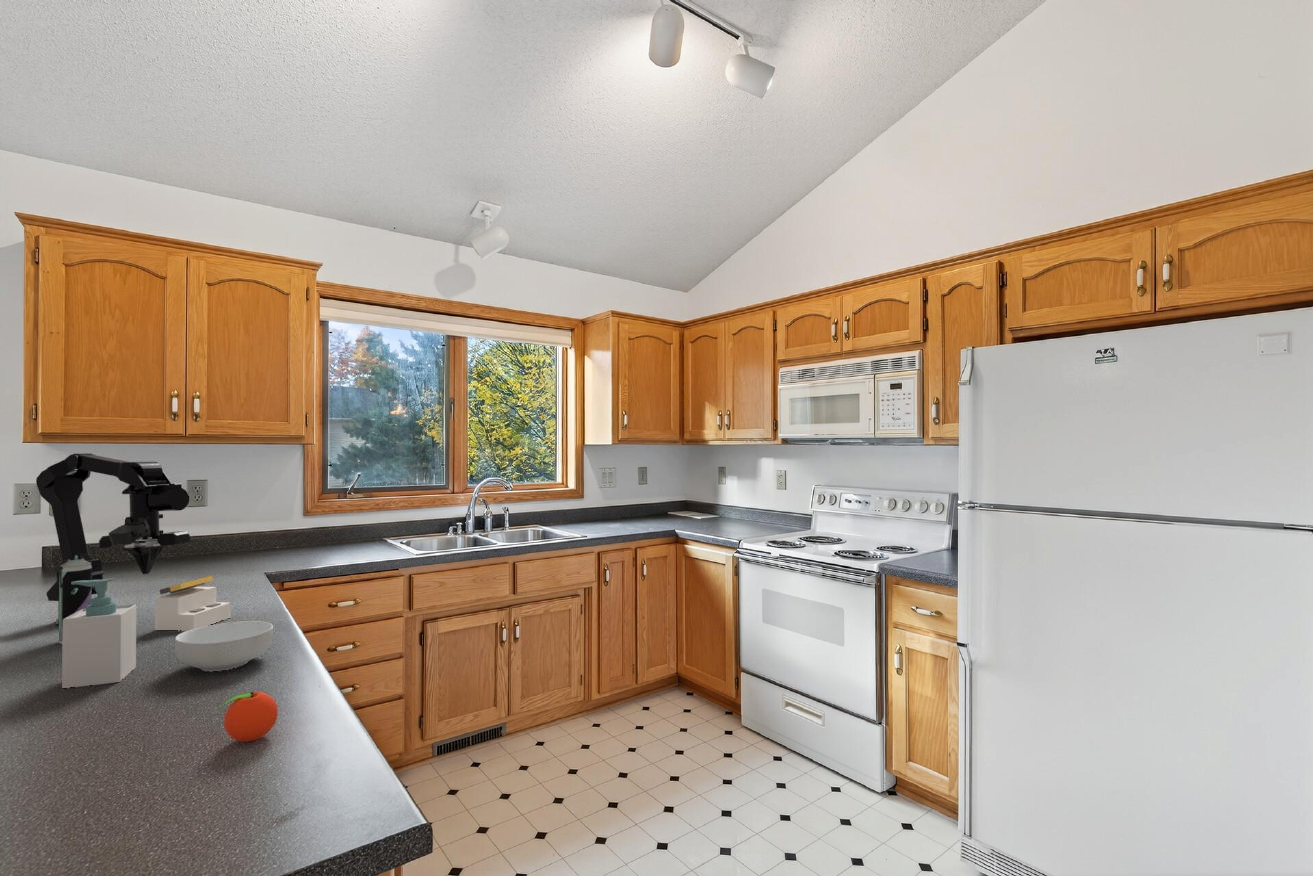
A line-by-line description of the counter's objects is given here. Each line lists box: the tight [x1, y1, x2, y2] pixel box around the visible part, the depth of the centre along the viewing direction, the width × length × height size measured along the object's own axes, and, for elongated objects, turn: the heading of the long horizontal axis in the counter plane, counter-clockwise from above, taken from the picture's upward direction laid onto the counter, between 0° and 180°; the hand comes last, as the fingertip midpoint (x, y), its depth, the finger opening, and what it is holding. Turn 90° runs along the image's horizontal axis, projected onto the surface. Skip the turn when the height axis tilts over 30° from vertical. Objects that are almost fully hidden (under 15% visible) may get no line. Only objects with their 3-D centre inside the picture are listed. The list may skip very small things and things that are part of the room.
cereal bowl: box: [174, 620, 274, 673], centre depth 130 cm, size 17×17×7 cm
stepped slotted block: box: [154, 586, 232, 632], centre depth 160 cm, size 10×12×8 cm
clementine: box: [215, 691, 279, 743], centre depth 96 cm, size 8×7×7 cm
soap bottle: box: [61, 577, 137, 689], centre depth 123 cm, size 9×9×19 cm
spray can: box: [58, 554, 92, 645], centre depth 146 cm, size 6×6×20 cm
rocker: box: [159, 575, 214, 595], centre depth 160 cm, size 6×10×2 cm, turn 175°
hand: (145, 573), depth 159 cm, fingers closed
